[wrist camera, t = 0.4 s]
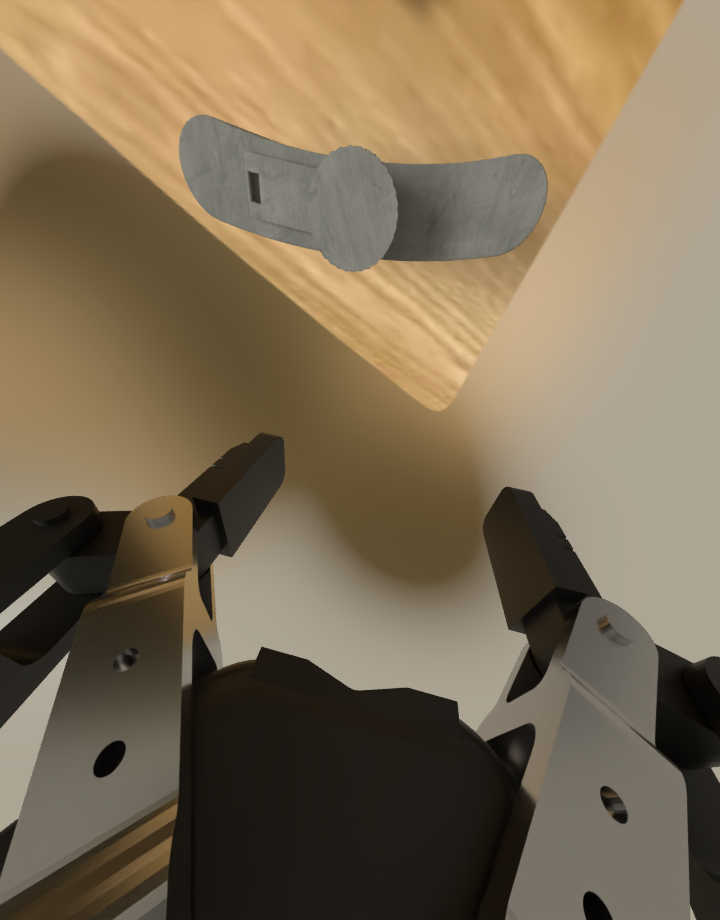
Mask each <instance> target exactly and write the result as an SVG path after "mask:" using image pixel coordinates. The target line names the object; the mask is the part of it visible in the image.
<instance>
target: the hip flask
mask: <svg viewBox="0 0 720 920" xmlns="http://www.w3.org/2000/svg"><path fill="white" fill-rule="evenodd" d="M179 156H180V162H181V167H182V171H183V174H184V177H185V180H186V182H187V184H188V187H189V189H190V190H191V192H192V194H193V196H194V197H195V199H196V200H197V201H198V203H199V204H200V205H201V206H202V207H203V208H204V209H205V211H206V212H208V213H209V214H210V215H211V216H213V217H214V218H216V219H218V220H220V221H222V222H225V223H227V224H230V225H233V226H235V227H238V228H240V229H243V230H246V231H249V232H252V233H255V234H258V235H260V236H263V237H266V238H270V239H273V240H277V241H280V242H284V243H288V244H291V245H296V246H300V247H304V248H308V249H312V250H318V251H320V252H321V253H322V254H323V256H324V258H326V259H327V260H328V261H329V262H330V263H331V264H333V265H335V266H336V267H337V268H338V269H343V270H344V271H351V272H356V271H363V270H365V269H369V268H370V267H371V266H373V265H375V264H377V262H378V261H379V260H380V259H382V260H396V261H451V260H464V259H475V258H483V257H492V256H498V255H502V254H505V253H507V252H509V251H511V250H513V249H514V248H516V247H517V246H518V245H520V244H521V243H522V242H523V241H524V240H525V239H526V238H527V237H528V235H529V234H530V233H531V232H532V230H533V229H534V227H535V226H536V224H537V223H538V220H539V218H540V216H541V214H542V212H543V209H544V206H545V203H546V197H547V186H548V182H547V176H546V172H545V170H544V168H543V166H542V164H541V163H540V162H539V161H538V160H537V159H536V158H534V157H533V156H531V155H527V154H515V155H509V156H504V157H499V158H493V159H487V160H480V161H472V162H464V163H449V164H396V163H383V162H381V160H380V158H378V157H377V156H376V155H375V154H373V153H372V152H371V151H370V150H367V149H363V148H362V147H360V146H359V147H357V146H355V147H354V146H351V145H349V146H347V147H340V148H338V149H337V150H336V151H332V152H330V154H329V155H325V154H320V153H314V152H310V151H306V150H302V149H299V148H295V147H291V146H287V145H284V144H281V143H278V142H275V141H273V140H270V139H268V138H265V137H263V136H260V135H257V134H255V133H252V132H250V131H247V130H245V129H242V128H239V127H237V126H234V125H232V124H229V123H227V122H224V121H221V120H219V119H216V118H214V117H211V116H208V115H197V116H194V117H192V118H191V119H189V120H188V121H187V122H186V124H185V125H184V127H183V129H182V132H181V135H180V141H179Z"/></svg>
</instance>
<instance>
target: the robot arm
mask: <svg viewBox="0 0 720 920" xmlns="http://www.w3.org/2000/svg"><path fill="white" fill-rule="evenodd" d="M284 475H285V458H284V441H283V438H282V437H280V436H275V435H271V434H266V433H259V434H258V435H257V436H256V437H255V438H254V439H253V440H252V441H251V442H250V443H243V444H240V445H238V446H236V447H233V448H231V449H230V450H229V451H228V452H227V453H226V454H224V455H223V456H222V457H221V459H218V460H217V461H216V462H215V463H214V464H213V465H212V467H209V468H208V469H207V470H206V471H205V472H204V473H202V474H201V475H200V476H199V477H198V478H197V479H196V480H195V481H194V482H192V483H191V484H190V485H189V486H188V487H187V488H186V489H184V490H183V491H182V492H181V493H180V494H179V495H178V496H174V495H172V496H171V495H170V496H162V497H158V498H154V499H151V500H149V501H146V502H144V503H143V504H141V505H139V506H138V507H136V508H135V509H134V510H133V511H106V512H99V510H98V509H97V507H96V506H95V504H94V503H93V501H92V500H90V499H89V498H87V497H83V496H67V497H61V498H56V499H53V500H49V501H46V502H43V503H41V504H38V505H36V506H34V507H32V508H30V509H28V510H27V511H25V512H23V513H22V514H20V515H18V516H17V517H15V518H14V519H12V520H10V521H9V522H7V523H6V524H4V525H2V526H1V527H0V613H1V612H3V611H4V610H5V609H6V608H7V607H9V606H10V605H11V604H12V603H13V602H15V601H16V600H17V599H18V598H19V597H21V596H22V595H23V594H24V593H25V592H27V591H28V590H29V589H30V588H31V587H33V586H34V585H35V584H36V583H37V582H39V581H40V580H41V579H42V578H43V577H45V576H46V575H47V574H48V573H49V574H50V575H51V576H52V577H53V578H54V579H55V580H56V582H55V583H54V584H53V585H52V586H51V587H50V588H48V589H47V590H46V591H45V592H44V593H43V594H42V595H41V596H39V597H38V598H37V599H36V600H35V601H34V602H32V603H31V604H30V605H29V606H28V607H27V608H26V609H24V610H23V611H22V612H21V613H20V614H19V615H18V616H17V617H15V618H14V619H13V620H12V621H11V622H10V623H9V624H7V625H6V626H5V627H4V628H3V629H2V630H1V631H0V728H1V727H2V726H3V725H4V724H5V723H6V722H7V720H8V719H9V718H10V717H11V716H12V715H13V713H15V711H16V710H17V709H18V708H19V707H20V706H21V705H22V704H23V702H24V701H25V700H26V699H27V698H28V697H29V696H30V695H31V693H32V692H33V691H34V690H35V689H36V688H37V687H38V686H39V684H40V683H41V682H42V681H43V680H44V679H45V678H46V677H47V675H48V674H49V673H50V672H51V671H52V670H53V668H55V666H56V665H57V664H58V663H59V662H60V661H61V660H62V659H63V657H64V656H65V655H66V654H67V653H68V652H69V651H70V652H69V655H68V659H67V662H66V665H65V668H64V672H63V675H62V678H61V682H60V685H59V688H58V691H57V695H56V698H55V701H54V705H53V708H52V711H51V714H50V717H49V721H48V724H47V727H46V730H45V734H44V737H43V741H42V744H41V747H40V750H39V753H38V756H37V760H36V763H35V766H34V770H33V773H32V776H31V779H30V783H29V786H28V789H27V793H26V796H25V799H24V802H23V805H22V809H21V812H20V816H19V818H18V819H17V820H16V821H14V822H13V823H12V824H10V825H9V826H8V827H6V828H5V829H4V830H3V831H1V832H0V920H690V905H691V908H692V910H693V913H694V915H695V918H696V920H720V783H719V781H718V780H717V778H716V776H715V774H714V773H713V771H712V769H711V767H719V766H720V657H715V656H713V657H709V658H706V659H704V660H701V661H699V662H696V663H692V662H690V661H688V660H686V659H684V658H682V657H680V656H678V655H676V654H674V653H672V652H670V651H668V650H666V649H664V648H662V647H660V646H658V645H656V644H654V642H653V640H652V639H651V637H650V635H649V634H648V633H647V631H646V630H645V629H644V628H643V627H642V626H641V624H640V623H639V622H637V621H636V620H635V619H634V618H633V617H632V616H631V615H630V614H629V613H627V612H626V611H625V610H623V609H622V608H620V607H618V606H617V605H615V604H613V603H611V602H610V601H607V600H605V599H602V597H601V596H600V594H599V592H598V590H597V589H596V587H595V585H594V584H593V582H592V580H591V578H590V577H589V575H588V573H587V572H586V570H585V568H584V567H583V565H582V563H581V561H580V560H579V558H578V556H577V555H576V553H575V552H573V548H572V546H571V544H570V543H569V541H568V540H566V536H565V534H564V533H563V531H562V529H561V528H560V526H559V524H558V523H557V522H556V521H555V520H554V519H553V518H552V517H551V516H550V515H549V514H548V513H547V512H546V511H545V510H543V509H541V507H540V505H539V504H538V502H537V500H536V498H535V496H534V495H533V493H532V492H529V491H525V490H520V489H516V488H511V487H505V488H504V489H502V491H501V493H500V494H499V496H498V497H497V499H496V500H495V502H494V504H493V505H492V507H491V509H490V510H489V512H488V514H487V515H486V517H485V519H484V524H483V534H484V538H485V542H486V546H487V549H488V553H489V557H490V561H491V564H492V568H493V572H494V576H495V580H496V583H497V587H498V591H499V595H500V599H501V603H502V606H503V610H504V614H505V618H506V621H507V625H508V629H509V630H513V631H516V632H520V633H524V634H526V636H527V639H528V642H529V643H527V644H526V645H525V646H524V647H523V649H522V651H521V653H520V655H519V657H518V659H517V662H516V664H515V666H514V668H513V670H512V672H511V674H510V676H509V679H508V681H507V683H506V685H505V687H504V689H503V692H502V693H501V696H500V698H499V700H498V702H497V704H496V705H495V707H494V708H493V710H492V711H491V712H490V713H489V714H488V715H487V717H486V718H485V719H484V720H483V722H482V723H481V725H480V726H479V728H478V730H477V732H475V731H474V730H473V729H471V728H470V727H469V726H468V725H466V724H465V723H464V722H463V721H462V720H460V719H459V714H458V704H457V701H453V700H449V699H446V698H442V697H439V696H435V695H432V694H428V693H425V692H421V691H417V690H414V689H411V688H393V689H378V690H362V691H358V690H353V689H351V688H349V687H347V686H346V685H344V684H343V683H341V682H340V681H339V680H337V679H335V678H334V677H333V676H331V675H330V674H328V673H327V672H325V671H324V670H322V669H321V668H319V667H318V666H316V665H315V664H313V663H312V662H310V661H309V660H307V659H303V658H300V657H296V656H293V655H289V654H285V653H282V652H278V651H274V650H271V649H268V648H264V647H261V649H260V652H259V654H258V656H257V659H256V660H248V661H243V662H238V663H235V664H232V665H229V666H226V667H223V665H222V654H221V646H220V641H219V636H218V631H217V623H216V607H215V593H214V592H215V591H214V574H213V565H212V563H213V561H214V560H215V559H216V557H217V556H218V555H219V554H221V555H225V556H229V557H233V555H234V554H235V552H236V551H237V549H238V548H239V546H240V545H241V543H242V542H243V541H244V539H245V538H246V536H247V535H248V533H249V532H250V530H251V529H252V527H253V526H254V524H255V523H256V521H257V520H258V518H259V517H260V515H261V514H262V513H263V511H264V510H265V508H266V507H267V505H268V504H269V502H270V501H271V499H272V498H273V496H274V495H275V493H276V492H277V490H278V489H279V487H280V486H281V484H282V482H283V479H284Z"/></svg>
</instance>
